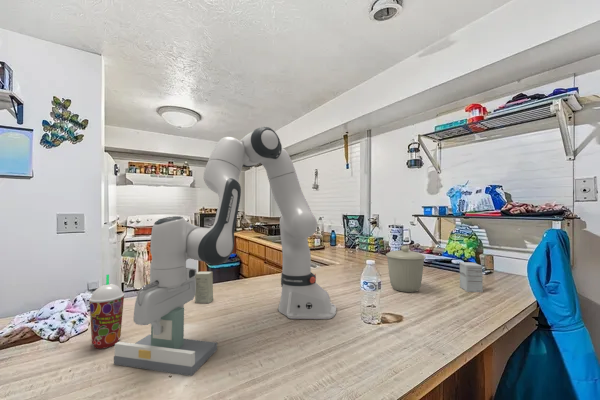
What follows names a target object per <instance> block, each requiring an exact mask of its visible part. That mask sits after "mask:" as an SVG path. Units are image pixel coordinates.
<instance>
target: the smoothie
mask: <svg viewBox="0 0 600 400" xmlns="http://www.w3.org/2000/svg"><path fill="white" fill-rule="evenodd" d="M105 278H106V280H105V281H106V282H105V284H102V285H100V286H98V287H97V288H96V289H95V290H94V291H92V292H93V293H92V295H91V296H90V298H89V312H90V313H89V314H90V315H89V316H90V333H91V344H92V345H93V347H94V349H107V348H111V347H112V346H115V343H117V342H119V339H120V338H121V337H122V336H121V334H122V333H121V332H122V322H123V311H124V300H125V292H123V291H122V288H121V287H120V286H118V285H117V284H114V283H110V274H106V275H105Z"/></svg>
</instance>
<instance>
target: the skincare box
mask: <svg viewBox="0 0 600 400" xmlns="http://www.w3.org/2000/svg"><path fill="white" fill-rule="evenodd" d="M213 278H214V276H213V271H198V272H196V276H195V279H196V293H195V297H194V302H195V304H210V303H211V302H212V301H213V300H214V284H213V283H214V279H213Z"/></svg>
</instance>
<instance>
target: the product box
mask: <svg viewBox="0 0 600 400" xmlns="http://www.w3.org/2000/svg"><path fill="white" fill-rule="evenodd" d="M159 323H160V325H161V326H163V332H162V333H161V334H159V335H154V333H153V327H152V325H151V324H150V327H151V328H150V335H151V346H157V347H165V348H173V349H178V348H180V347H181V346H182V345H183V343H184V339H185V338H184V336H185V333H184V331H185V328H184V327H185V307H184V308H182V307H178V308H176V309H174V310H173V311H171V312H169V313H168V314H166V315H164V316H163V317H161V321H160V322H159Z"/></svg>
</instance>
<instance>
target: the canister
mask: <svg viewBox="0 0 600 400" xmlns="http://www.w3.org/2000/svg"><path fill="white" fill-rule="evenodd" d="M385 256H386V258H387V267H388V276H389V283H390V286H391V287H392V288H393V290H395V291H399V292H405V293H415V292H418V291H419V290H420V288H421V286H422V281H423V272H424V262H425V259H426V255H423V253H421V252H418V251H414V250H410V247H409V246H408V245H401V248H400V250H391V251H389V252H387V253H385Z"/></svg>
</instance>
